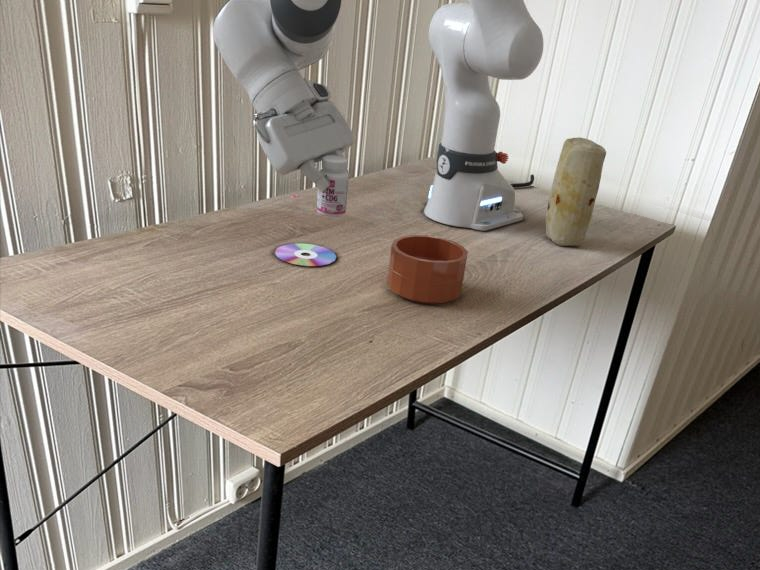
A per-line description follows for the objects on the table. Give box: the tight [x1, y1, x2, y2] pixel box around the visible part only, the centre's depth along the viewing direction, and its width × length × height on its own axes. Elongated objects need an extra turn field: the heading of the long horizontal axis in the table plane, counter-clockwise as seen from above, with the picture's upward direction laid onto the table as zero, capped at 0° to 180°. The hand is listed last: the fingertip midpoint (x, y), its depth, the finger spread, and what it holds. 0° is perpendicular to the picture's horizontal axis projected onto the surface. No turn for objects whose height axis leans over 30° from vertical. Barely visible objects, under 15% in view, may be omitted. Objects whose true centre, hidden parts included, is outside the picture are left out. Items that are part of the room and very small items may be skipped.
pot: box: [386, 234, 469, 304], centre depth 141 cm, size 13×13×8 cm
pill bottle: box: [316, 155, 350, 218], centre depth 132 cm, size 5×5×8 cm
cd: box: [274, 242, 337, 267], centre depth 151 cm, size 11×11×1 cm
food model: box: [545, 137, 607, 247], centre depth 167 cm, size 10×7×20 cm
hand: (336, 184), depth 132 cm, fingers closed on pill bottle, 5 cm apart
